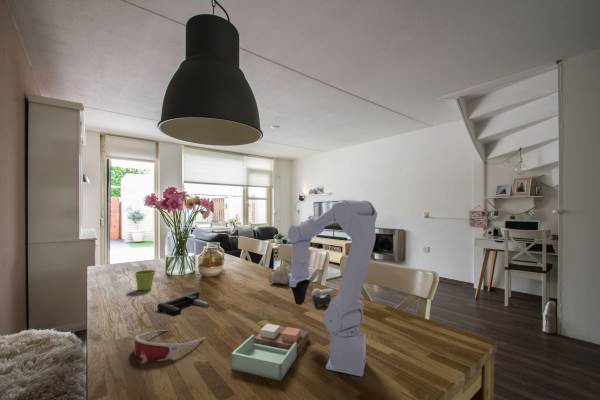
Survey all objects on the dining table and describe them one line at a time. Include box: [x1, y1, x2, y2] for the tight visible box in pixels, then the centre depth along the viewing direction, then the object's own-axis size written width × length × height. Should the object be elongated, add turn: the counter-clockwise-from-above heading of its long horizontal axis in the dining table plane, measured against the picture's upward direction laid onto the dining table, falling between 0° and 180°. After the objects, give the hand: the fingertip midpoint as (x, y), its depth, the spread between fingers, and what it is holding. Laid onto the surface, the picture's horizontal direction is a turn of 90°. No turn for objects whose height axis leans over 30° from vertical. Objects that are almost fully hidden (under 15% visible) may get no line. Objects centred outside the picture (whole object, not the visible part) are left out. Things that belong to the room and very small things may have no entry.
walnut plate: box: [254, 326, 309, 356], centre depth 83 cm, size 14×10×2 cm
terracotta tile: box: [282, 326, 302, 342], centre depth 81 cm, size 4×4×2 cm
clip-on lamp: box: [305, 288, 335, 308], centre depth 120 cm, size 12×6×18 cm
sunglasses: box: [133, 329, 206, 362], centre depth 81 cm, size 17×17×5 cm
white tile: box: [260, 323, 281, 339], centre depth 83 cm, size 4×4×2 cm
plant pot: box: [134, 269, 157, 292], centre depth 137 cm, size 9×9×9 cm
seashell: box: [268, 264, 291, 285], centre depth 148 cm, size 10×15×10 cm
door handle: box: [156, 290, 210, 316], centre depth 114 cm, size 3×20×16 cm
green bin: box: [230, 334, 298, 382], centre depth 72 cm, size 14×11×4 cm
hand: (299, 303), depth 88 cm, fingers closed
